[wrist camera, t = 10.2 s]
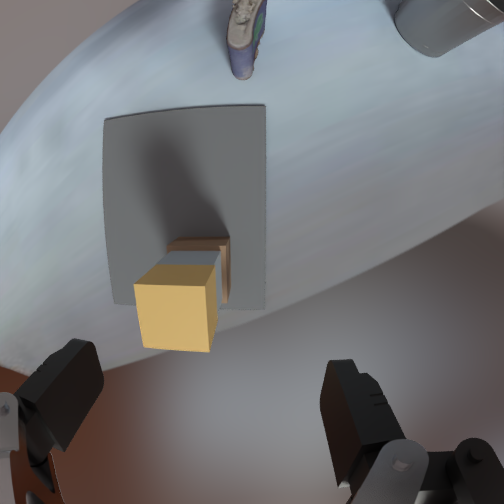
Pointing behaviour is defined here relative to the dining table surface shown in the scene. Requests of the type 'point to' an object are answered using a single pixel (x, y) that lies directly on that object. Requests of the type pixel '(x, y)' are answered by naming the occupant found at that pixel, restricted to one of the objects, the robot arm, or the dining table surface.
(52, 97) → the dining table surface
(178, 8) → the dining table surface
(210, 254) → the tower mid
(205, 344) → the ochre block
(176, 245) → the tower base
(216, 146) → the slate mat
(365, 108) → the dining table surface
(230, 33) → the flask
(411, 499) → the robot arm
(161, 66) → the dining table surface
